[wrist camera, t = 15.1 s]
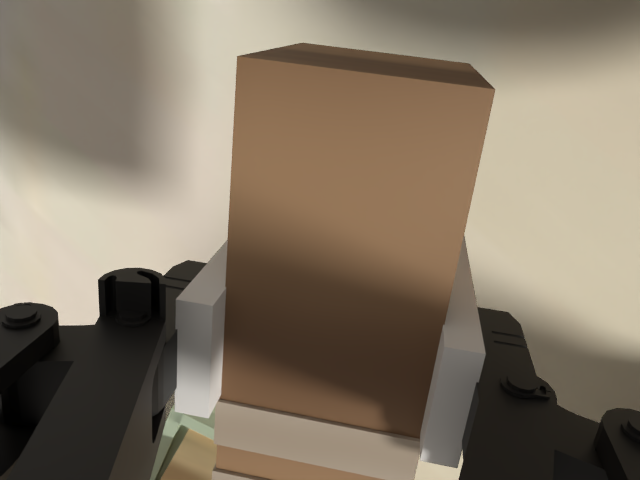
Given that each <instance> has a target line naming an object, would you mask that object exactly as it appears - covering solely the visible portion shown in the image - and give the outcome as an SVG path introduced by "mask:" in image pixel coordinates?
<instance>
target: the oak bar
mask: <svg viewBox="0 0 640 480" xmlns="http://www.w3.org/2000/svg"><path fill="white" fill-rule="evenodd" d="M216 454H217V444H214V440H212V439H210V438H207V437H205V436H203V435H201V434H199V433H197V432H195V431H193V430H191V429H189V430H188V432H187V434H186V436H185V437H184V439H183V441H182V443H181V444H180V446H179V448H178V450H177V451H176V453H175V455H174V456H173V458H172V460H171V462H170V463H169V465H168V467H167V469H166V470H165V472H164V474H163V476H162V477H161V479H160V480H212V470H213V468H214V466H215V464H216Z"/></svg>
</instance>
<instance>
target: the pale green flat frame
mask: <svg viewBox="0 0 640 480" xmlns="http://www.w3.org/2000/svg"><path fill="white" fill-rule="evenodd" d="M215 406H216V405H215ZM214 426H215V407H214V409H213V411H212V413H211V415H210V417H209V418H204V417H199V416H194V415H189V414H184V413H179V412H175V404H174V405H173V407H172V408H171V411H170V413H169V415H168V418H167V420H166V423H165V426H164V430H163V434H162V437H161V441H160V445H159V448H158V452H157V456H156V459H155V463H154V467H153V470H152V474H151V478H150V480H160V479H161V477H162V476H163V474H164V472H165V470H166V469H167V467H168V465H169V463H170V462H171V460H172V458H173V456H174V455H175V453H176V451H177V450H178V448H179V446H180V444H181V443H182V441H183V439H184V437H185V436H186V434H187V432H188V430H189V429H191V430H193V431H195V432H197V433H199V434H201V435H203V436H205V437H207V438H210V439H212V440H214Z"/></svg>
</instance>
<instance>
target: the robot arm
mask: <svg viewBox="0 0 640 480" xmlns="http://www.w3.org/2000/svg"><path fill="white" fill-rule="evenodd" d="M227 243H228V240H227V241H226V242H225V243H224V244H223V246H222V247H221V248H220V249H219V250H218V251H217V253H216V254H215V255H214V256H213V257H212V258H211V259H210V261H209V262H208V263H202V262H196V261H190V260H187V261H185V262H183V263H180V264H178V265H176V266H174V267H172V268H171V269H170V270H169V271H168V272H167V273H166V274H165V275H164V276H163V275H162V274H161V273H158V272H156V271H153V270H150V269H143V268H125V269H119V270H114V271H112V272H109V273H107V274H104V275H103V276H102V277H101V278H100V279H99V280H98V289H99V311H100V317H99V318H98V320H97V322H96V324H95V325H84V326H59V322H58V312H57V311H56V310H55V309H54V308H53V307H50V306H47V305H44V304H38V303H31V302H28V303H17V304H14V305H11V306H7V307H4V308H1V309H0V480H150V478H151V474H152V470H153V467H154V463H155V459H156V456H157V452H158V448H159V445H160V441H161V437H162V434H163V430H164V426H165V405H166V403H167V402H168V400H169V399H170V397H171V396H172V394H173V393H174V391H175V412H179V413H184V414H189V415H194V416H199V417H204V418H209V417H210V415H211V413H212V411H213V409H214V407H215V405H216V403H217V402H218V400H219V398H220V396H221V384H222V364H223V344H224V323H225V303H226V287H225V282H226V262H227ZM462 450H463V465H462V469H461V472H460V476H459V480H640V412H639V411H635V410H632V409H622V408H615V409H612V410H608V411H606V413H605V414H604V415H603V417H602V419H601V422H600V423H597V422H595V421H592V420H589V419H587V418H584V417H581V416H579V415H576V414H574V413H572V412H570V411H567V410H565V409H564V408H562V407H560V406H559V405H557V398H556V395H555V391H554V390H553V389H552V388H551V387H550V386H549V384H548V383H547V382H545V381H544V380H542V379H541V378H539V377H537V376H536V373H535V370H534V367H533V363H532V360H531V357H530V354H529V350H528V349H527V344H526V341H525V339H524V334H523V331H522V328H521V325H520V324H519V323H518V322H517V321H516V320H515V319H514V318H513V317H512V316H511V315H510V314H509V313H508V312H503V311H497V310H491V309H485V308H479V307H477V303H476V298H475V292H474V287H473V281H472V276H471V270H470V265H469V259H468V254H467V248H466V243H465V237H463V241H462V246H461V250H460V255H459V260H458V264H457V269H456V274H455V278H454V283H453V288H452V292H451V297H450V301H449V306H448V311H447V315H446V320H445V325H443V328H442V333H441V337H440V342H439V347H438V352H437V356H436V361H435V366H434V371H433V375H432V380H431V385H430V390H429V394H428V399H427V404H426V409H425V413H424V418H423V423H422V428H421V432H420V461H424V462H429V463H434V464H439V465H444V466H449V467H454V468H458V464H459V460H460V456H461V452H462Z"/></svg>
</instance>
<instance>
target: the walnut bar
mask: <svg viewBox="0 0 640 480" xmlns="http://www.w3.org/2000/svg"><path fill="white" fill-rule="evenodd" d="M494 93H495V89H494V88H493V87H492V86H491V85H490V84H489V83H488V82H487V81H486V80H485V79H484V78H483V77H482V76H481V75H480V74H479V73H478V72H477V71H476V70H475V69H474V68H473V67H472V66H471V65H470V64H468V63H460V62H452V61H444V60H436V59H428V58H420V57H412V56H404V55H396V54H388V53H380V52H372V51H364V50H356V49H348V48H340V47H332V46H324V45H316V44H308V43H299V44H294V45H290V46H285V47H280V48H275V49H270V50H265V51H260V52H255V53H250V54H246V55H241V56H237V71H236V91H235V110H234V129H233V148H232V167H231V186H230V205H229V224H228V243H227V262H226V282H225V287H226V303H225V323H224V344H223V364H222V384H221V396H220V398H219V400H218V402H217V403H216V406H215V426H214V444H217V454H216V464H215V466H214V468H213V470H212V480H414V478H415V473H416V468H417V464H418V459H419V455H420V432H421V428H422V423H423V418H424V413H425V409H426V404H427V399H428V394H429V390H430V385H431V380H432V375H433V371H434V366H435V361H436V356H437V352H438V347H439V342H440V337H441V333H442V328H443V325H445V320H446V315H447V311H448V306H449V301H450V297H451V292H452V288H453V283H454V278H455V274H456V269H457V264H458V260H459V255H460V250H461V246H462V241H463V237H464V232H465V227H466V223H467V218H468V213H469V209H470V204H471V199H472V195H473V190H474V186H475V181H476V176H477V172H478V167H479V162H480V158H481V153H482V148H483V144H484V139H485V135H486V130H487V125H488V121H489V116H490V111H491V107H492V102H493V98H494Z"/></svg>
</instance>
